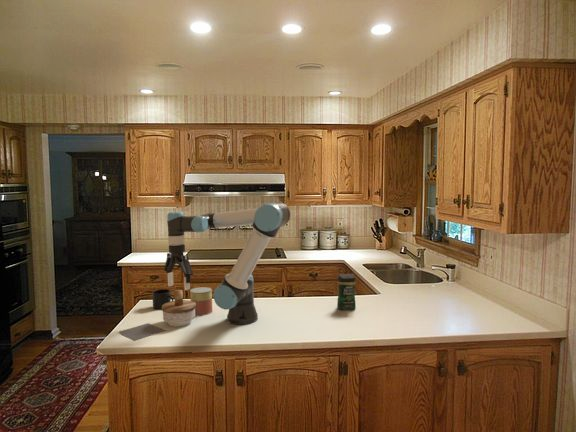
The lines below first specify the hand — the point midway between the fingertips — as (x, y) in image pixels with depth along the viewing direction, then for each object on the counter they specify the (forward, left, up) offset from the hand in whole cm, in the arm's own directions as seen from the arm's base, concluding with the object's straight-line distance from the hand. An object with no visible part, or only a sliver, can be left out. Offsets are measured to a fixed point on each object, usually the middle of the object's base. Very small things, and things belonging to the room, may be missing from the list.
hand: (178, 287), depth 202 cm
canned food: (+6, -18, -18) cm, 26 cm away
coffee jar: (-51, -70, -18) cm, 88 cm away
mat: (+4, +18, -18) cm, 26 cm away
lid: (0, 0, -10) cm, 10 cm away
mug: (+29, -10, -18) cm, 36 cm away
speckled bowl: (0, 0, -18) cm, 18 cm away
